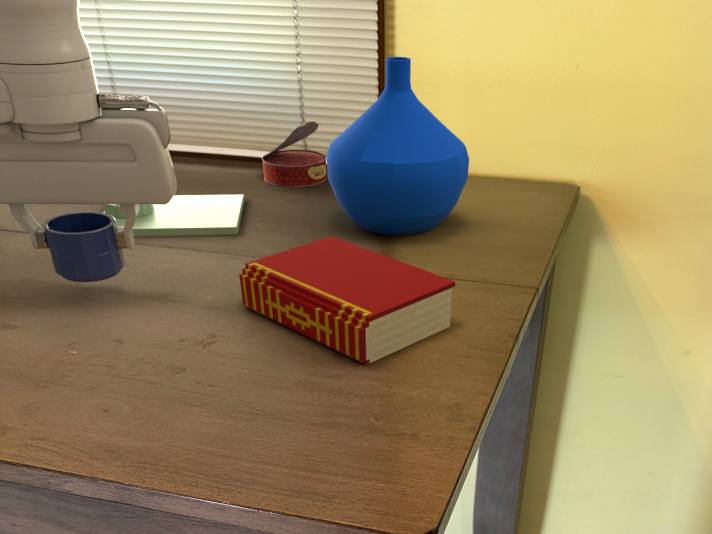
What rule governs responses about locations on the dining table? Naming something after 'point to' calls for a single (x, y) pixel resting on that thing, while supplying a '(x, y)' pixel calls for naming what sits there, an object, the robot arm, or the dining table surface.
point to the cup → (84, 246)
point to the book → (348, 297)
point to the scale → (185, 216)
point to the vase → (397, 162)
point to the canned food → (295, 162)
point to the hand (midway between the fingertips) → (84, 247)
